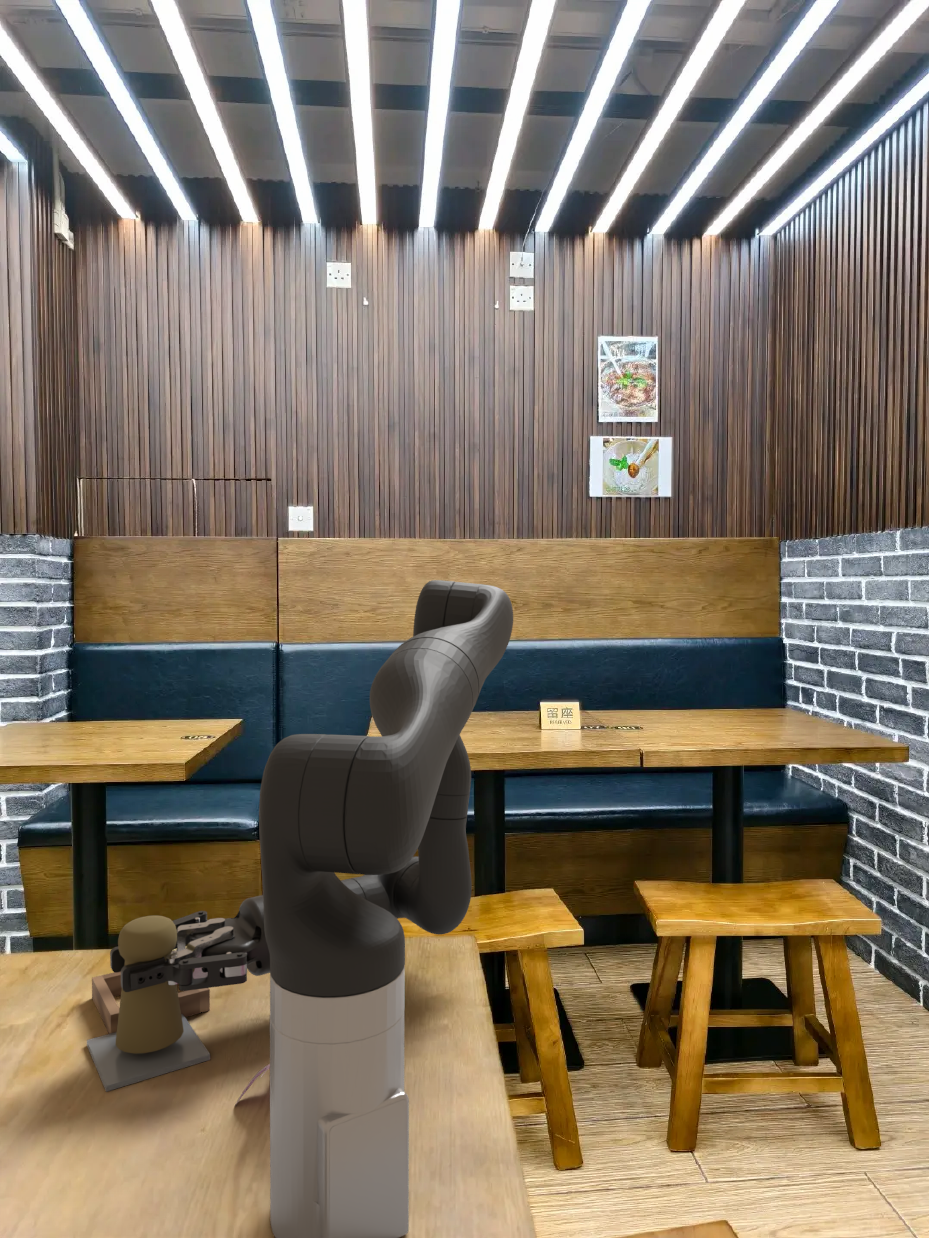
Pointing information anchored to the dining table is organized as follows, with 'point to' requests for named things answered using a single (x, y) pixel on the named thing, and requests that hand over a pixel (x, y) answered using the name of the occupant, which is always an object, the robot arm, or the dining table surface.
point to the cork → (148, 989)
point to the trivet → (144, 1058)
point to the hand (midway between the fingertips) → (117, 969)
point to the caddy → (111, 987)
